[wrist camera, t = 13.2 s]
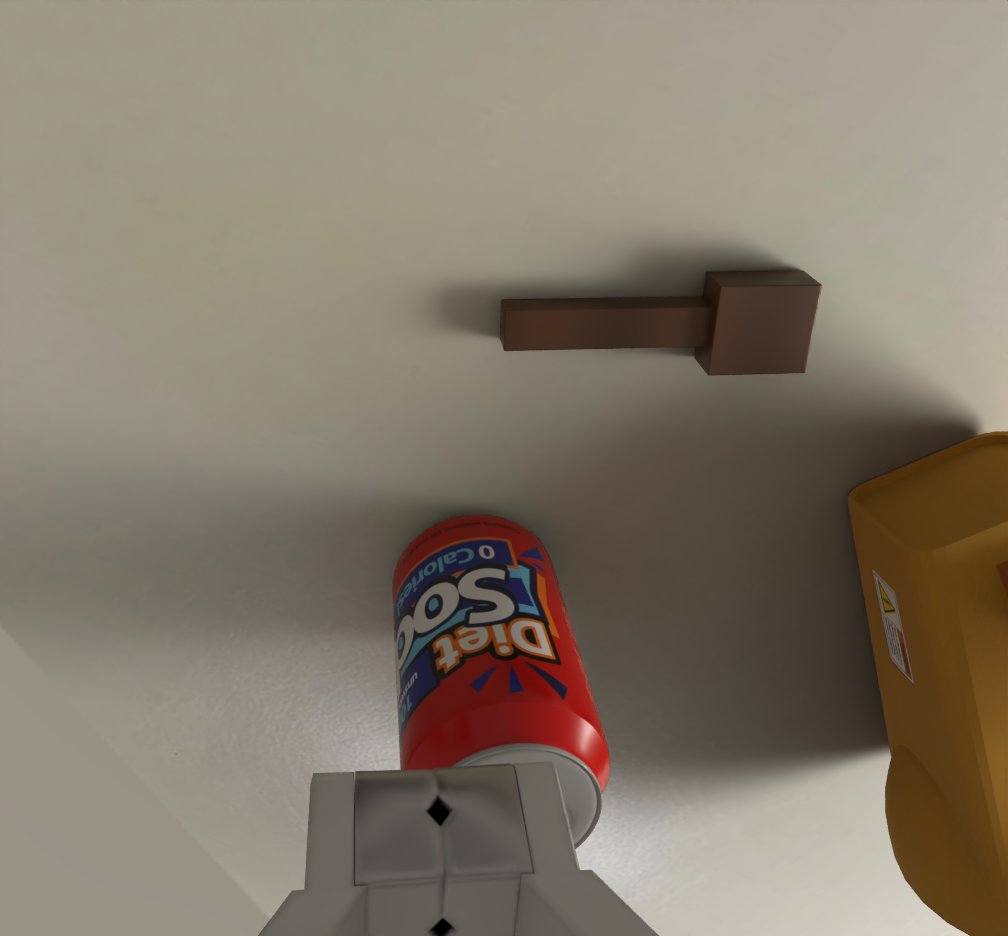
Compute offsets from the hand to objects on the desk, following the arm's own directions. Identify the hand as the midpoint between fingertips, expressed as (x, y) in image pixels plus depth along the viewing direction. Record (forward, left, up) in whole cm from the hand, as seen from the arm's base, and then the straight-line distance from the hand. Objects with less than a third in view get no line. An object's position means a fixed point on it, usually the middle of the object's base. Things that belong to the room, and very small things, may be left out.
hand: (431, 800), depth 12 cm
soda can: (+18, +4, -30) cm, 35 cm away
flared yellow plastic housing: (+20, +30, -30) cm, 47 cm away
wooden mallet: (+4, +12, -30) cm, 33 cm away
